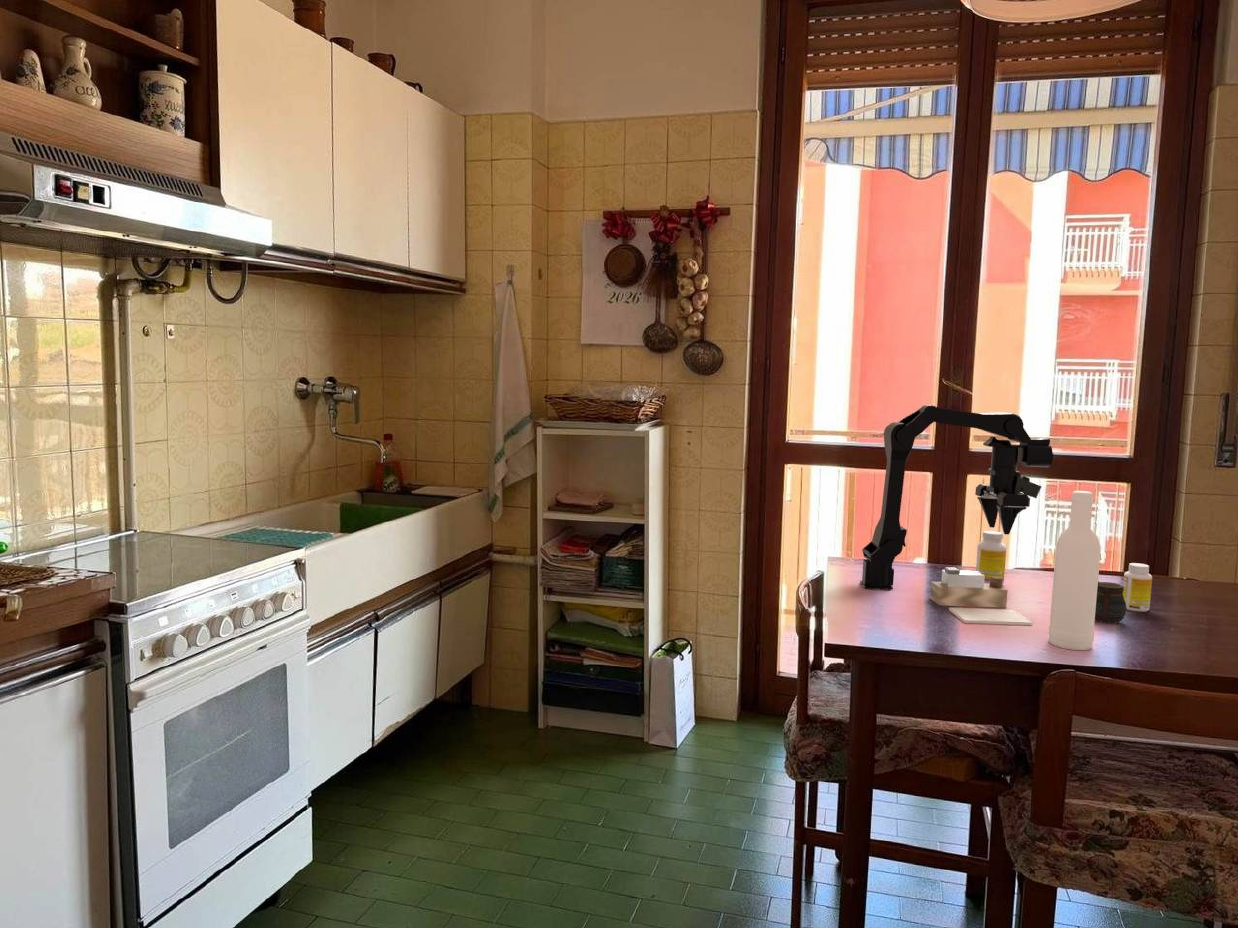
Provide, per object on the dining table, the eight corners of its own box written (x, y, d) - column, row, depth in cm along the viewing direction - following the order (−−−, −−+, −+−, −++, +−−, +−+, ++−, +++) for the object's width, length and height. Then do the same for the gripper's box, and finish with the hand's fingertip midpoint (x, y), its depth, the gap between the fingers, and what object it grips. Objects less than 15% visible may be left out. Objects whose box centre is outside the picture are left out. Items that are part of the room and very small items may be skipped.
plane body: (938, 605, 207) (940, 579, 206) (930, 598, 213) (932, 572, 212) (1006, 607, 207) (1008, 581, 206) (996, 600, 212) (998, 575, 212)
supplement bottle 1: (1008, 586, 227) (1011, 535, 225) (980, 586, 227) (984, 534, 226) (997, 580, 233) (1001, 530, 232) (971, 579, 234) (974, 529, 232)
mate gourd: (1125, 627, 193) (1128, 580, 192) (1084, 622, 197) (1087, 576, 196) (1126, 619, 199) (1130, 574, 198) (1087, 614, 203) (1090, 569, 202)
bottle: (1102, 650, 177) (1116, 494, 173) (1066, 651, 175) (1079, 495, 172) (1073, 637, 184) (1086, 489, 181) (1038, 639, 183) (1050, 489, 179)
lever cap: (947, 587, 207) (948, 570, 207) (941, 582, 212) (942, 566, 211) (983, 588, 207) (984, 571, 206) (976, 583, 211) (977, 567, 211)
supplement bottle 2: (1155, 611, 207) (1159, 566, 206) (1136, 613, 205) (1140, 568, 204) (1133, 605, 212) (1137, 561, 211) (1115, 606, 210) (1119, 562, 209)
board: (964, 622, 193) (964, 619, 193) (948, 610, 203) (949, 607, 203) (1032, 625, 193) (1032, 622, 193) (1013, 612, 203) (1013, 609, 202)
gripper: (1055, 471, 210) (1050, 539, 211) (1022, 462, 228) (1017, 525, 230) (1005, 470, 210) (1000, 537, 212) (976, 461, 228) (972, 523, 230)
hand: (999, 530), depth 221 cm, fingers open, 9 cm apart
